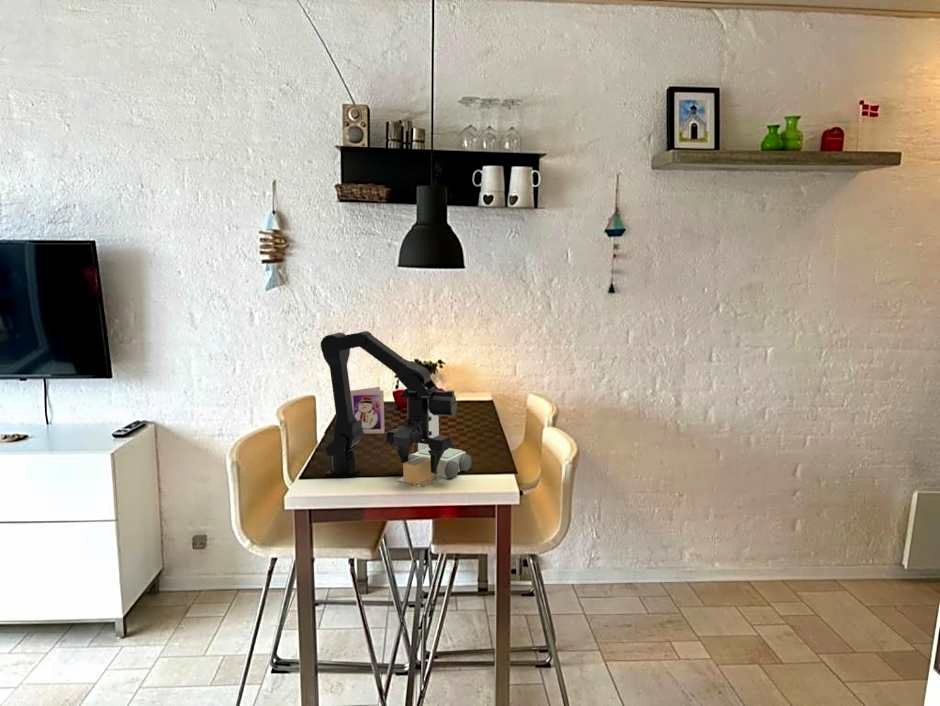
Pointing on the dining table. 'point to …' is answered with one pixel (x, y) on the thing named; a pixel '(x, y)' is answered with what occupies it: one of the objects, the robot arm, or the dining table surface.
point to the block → (417, 470)
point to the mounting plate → (425, 482)
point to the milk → (431, 429)
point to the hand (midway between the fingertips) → (419, 469)
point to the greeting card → (369, 409)
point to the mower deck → (447, 462)
